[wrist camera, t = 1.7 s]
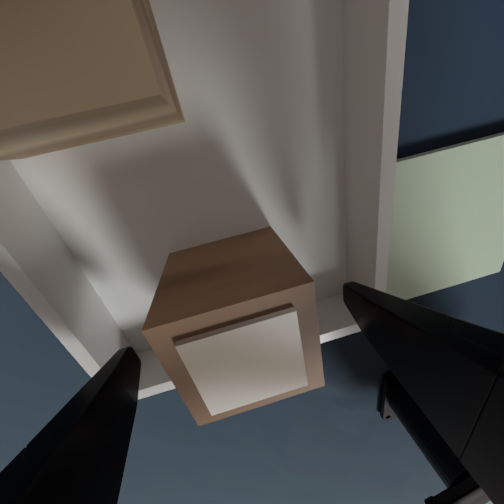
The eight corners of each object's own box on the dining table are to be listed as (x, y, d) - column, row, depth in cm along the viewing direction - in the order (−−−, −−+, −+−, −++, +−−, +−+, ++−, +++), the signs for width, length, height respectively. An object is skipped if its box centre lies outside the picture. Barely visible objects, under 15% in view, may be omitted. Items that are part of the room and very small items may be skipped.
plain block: (185, 121, 8) (160, 94, 4) (22, 158, 8) (-206, 174, 4) (124, -81, 6) (-81, -645, 2) (-106, -44, 6) (-1101, -647, 1)
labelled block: (285, 304, 13) (327, 390, 9) (201, 329, 13) (198, 432, 8) (270, 226, 11) (316, 285, 6) (169, 253, 11) (139, 336, 6)
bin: (350, 291, 14) (383, 323, 12) (133, 355, 14) (116, 406, 11) (346, -152, 7) (436, -345, 4) (-154, -76, 6) (-455, -260, 3)
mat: (490, 267, 16) (499, 271, 15) (371, 302, 15) (377, 308, 15) (536, 123, 12) (551, 122, 11) (377, 164, 11) (386, 165, 11)
